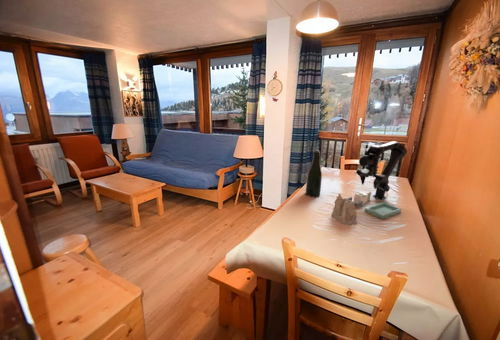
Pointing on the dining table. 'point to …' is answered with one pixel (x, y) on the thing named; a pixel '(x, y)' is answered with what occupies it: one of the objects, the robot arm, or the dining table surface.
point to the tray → (382, 210)
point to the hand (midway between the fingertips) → (368, 186)
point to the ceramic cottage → (344, 211)
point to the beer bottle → (314, 176)
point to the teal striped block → (362, 197)
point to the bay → (354, 202)
